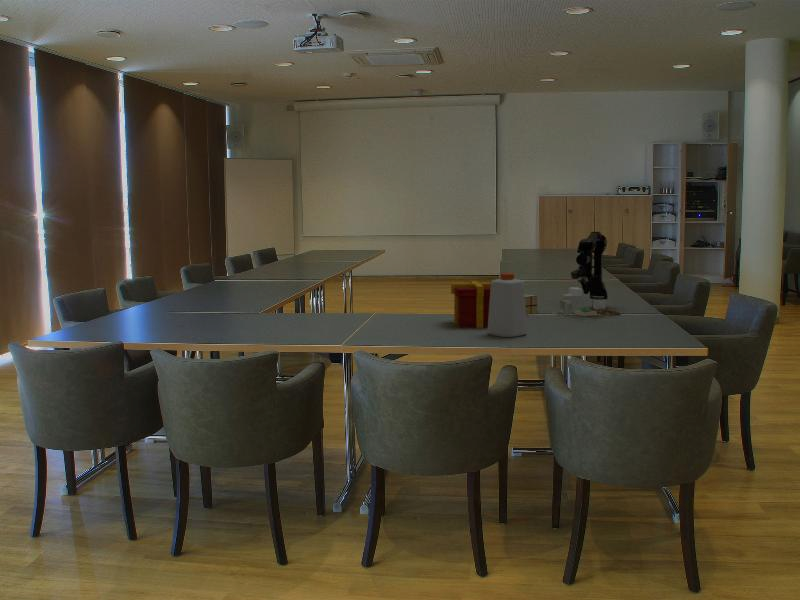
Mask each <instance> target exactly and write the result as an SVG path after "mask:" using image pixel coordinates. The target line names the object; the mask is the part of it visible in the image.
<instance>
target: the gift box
mask: <svg viewBox="0 0 800 600" xmlns="http://www.w3.org/2000/svg"><path fill="white" fill-rule="evenodd" d="M490 290H491V282H483V283H482V282H478V281H477V280H470V281H469V283H450V294H452V295H453V296H454V297H453V298H454V299H453V300H454V302H453V309H454V314H453V318H454V320H453V322H454V323H453V324H454V326H458V327H459V328H460V329H462V328H463V329H465V328H466V329H467V328H468V329H469V328H476V329H484V328H488V317H489V303H490Z"/></svg>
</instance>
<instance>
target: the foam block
mask: <svg viewBox="0 0 800 600" xmlns="http://www.w3.org/2000/svg"><path fill="white" fill-rule="evenodd" d="M564 300H569V301H572V303H582V302H583V288H582V287H581V288H580V287H577V286H576V287H575V286H574V287H572V286H571V287H568V293H563V294H562V299H561V301H564Z"/></svg>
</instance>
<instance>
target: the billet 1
mask: <svg viewBox="0 0 800 600" xmlns="http://www.w3.org/2000/svg"><path fill="white" fill-rule="evenodd" d="M559 313H560V314H563V315H567V314H573V302H572V301H569V300H564V301H562V300H559Z"/></svg>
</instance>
